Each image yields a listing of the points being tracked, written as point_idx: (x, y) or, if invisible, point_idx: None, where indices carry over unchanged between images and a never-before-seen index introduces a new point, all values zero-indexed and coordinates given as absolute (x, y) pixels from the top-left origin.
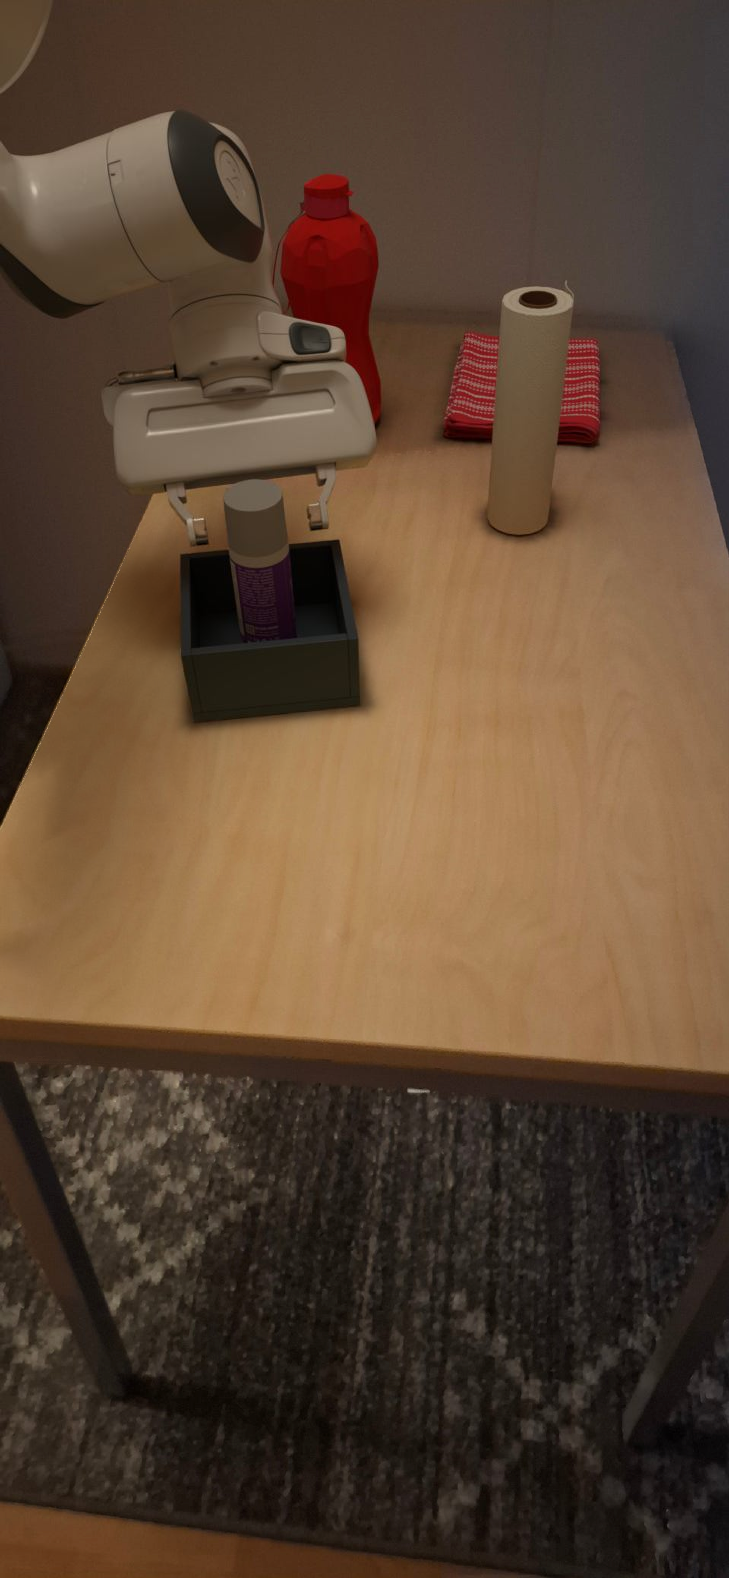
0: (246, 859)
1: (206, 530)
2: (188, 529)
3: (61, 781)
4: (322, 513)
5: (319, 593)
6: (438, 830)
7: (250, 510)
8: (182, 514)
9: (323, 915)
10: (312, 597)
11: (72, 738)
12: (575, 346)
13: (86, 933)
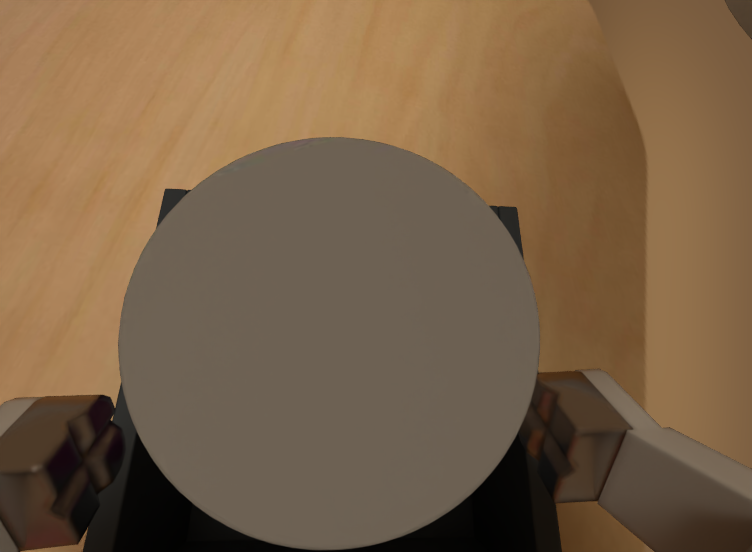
0: (399, 67)
1: (542, 452)
2: (626, 395)
3: (616, 201)
4: (3, 425)
5: (209, 549)
6: (190, 59)
7: (368, 145)
8: (696, 448)
9: (332, 4)
10: (229, 546)
11: (624, 270)
12: None
13: (543, 30)
